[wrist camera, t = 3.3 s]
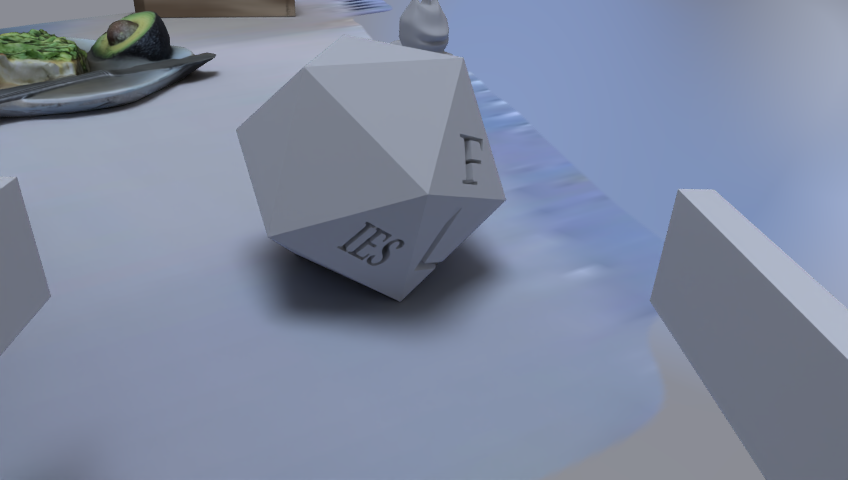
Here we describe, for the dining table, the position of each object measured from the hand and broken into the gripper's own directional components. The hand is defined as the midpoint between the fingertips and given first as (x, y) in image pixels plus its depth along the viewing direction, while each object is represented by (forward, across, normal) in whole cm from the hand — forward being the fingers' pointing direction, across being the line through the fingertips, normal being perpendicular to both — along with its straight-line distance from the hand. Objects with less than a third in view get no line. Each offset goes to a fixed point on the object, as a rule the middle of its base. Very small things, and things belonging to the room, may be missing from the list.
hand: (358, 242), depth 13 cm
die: (+10, 0, -6) cm, 12 cm away
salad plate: (+35, -22, -7) cm, 42 cm away
